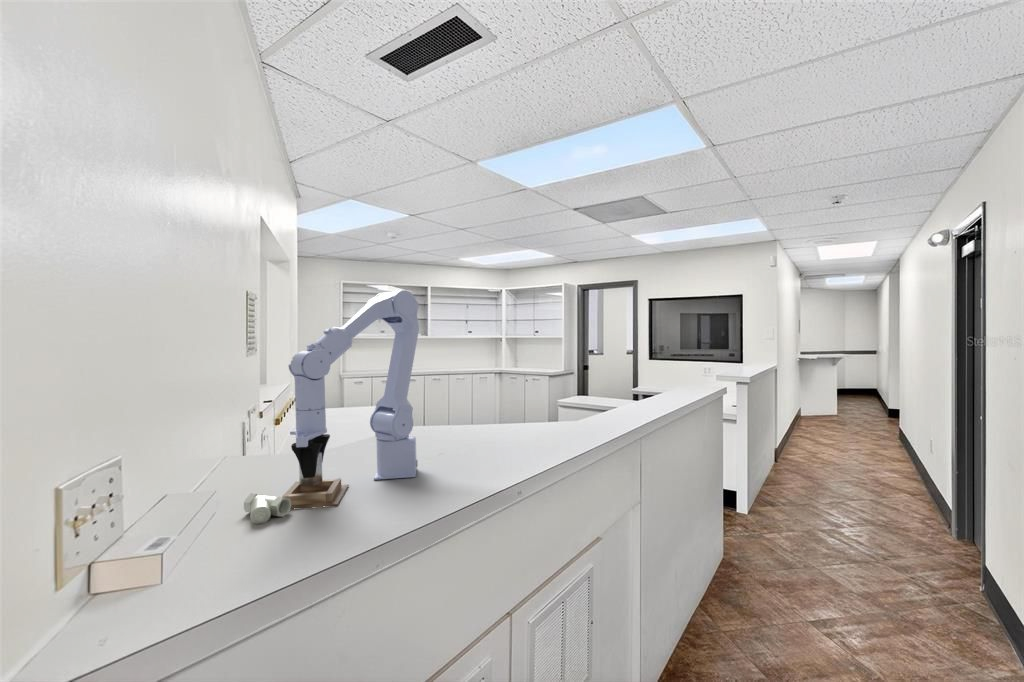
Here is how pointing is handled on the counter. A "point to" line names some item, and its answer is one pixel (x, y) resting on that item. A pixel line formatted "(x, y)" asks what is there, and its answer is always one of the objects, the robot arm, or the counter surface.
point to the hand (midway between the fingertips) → (312, 473)
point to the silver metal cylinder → (318, 475)
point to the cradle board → (316, 494)
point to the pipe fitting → (266, 507)
